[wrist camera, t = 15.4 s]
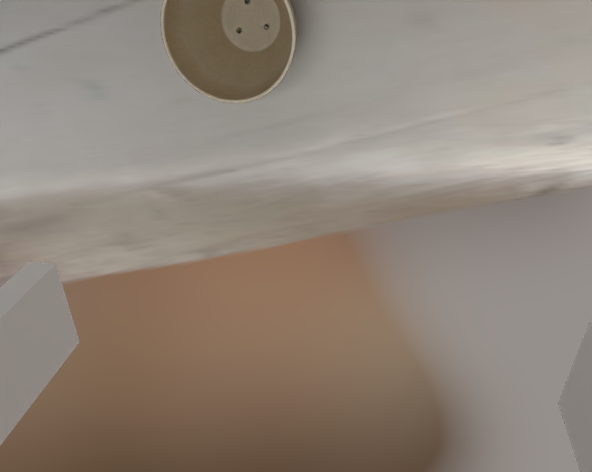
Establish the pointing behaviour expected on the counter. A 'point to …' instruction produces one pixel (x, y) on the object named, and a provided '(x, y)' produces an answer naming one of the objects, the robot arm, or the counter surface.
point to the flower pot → (230, 45)
